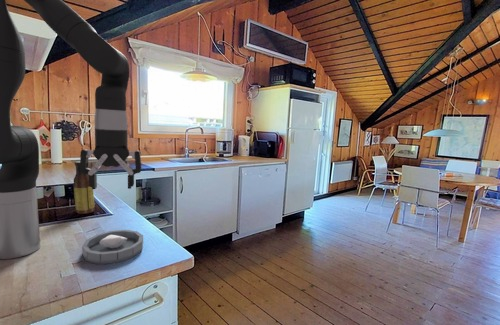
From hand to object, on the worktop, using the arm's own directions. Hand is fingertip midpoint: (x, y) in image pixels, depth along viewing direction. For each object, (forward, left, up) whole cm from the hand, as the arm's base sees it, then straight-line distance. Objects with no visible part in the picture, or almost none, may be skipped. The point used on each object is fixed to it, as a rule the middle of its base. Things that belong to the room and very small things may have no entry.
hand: (112, 188), depth 70 cm
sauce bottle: (-16, +35, -18) cm, 42 cm away
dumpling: (0, 0, -17) cm, 17 cm away
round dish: (0, 0, -18) cm, 18 cm away
